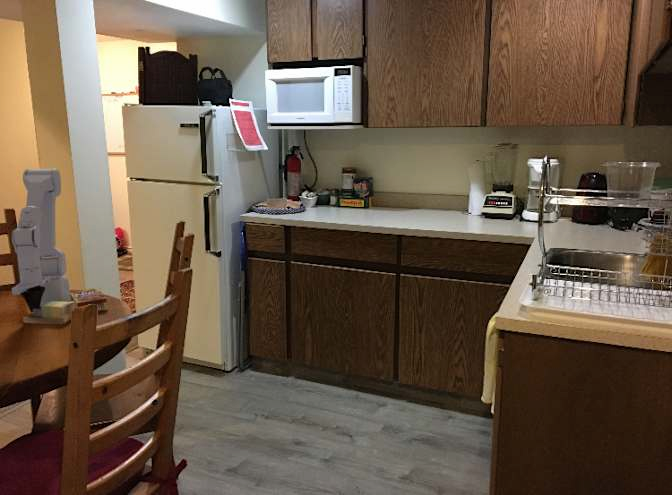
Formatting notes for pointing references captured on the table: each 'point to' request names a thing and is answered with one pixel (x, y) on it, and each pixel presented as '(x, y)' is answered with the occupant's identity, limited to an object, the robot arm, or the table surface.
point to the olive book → (48, 309)
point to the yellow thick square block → (56, 309)
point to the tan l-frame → (64, 317)
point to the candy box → (89, 298)
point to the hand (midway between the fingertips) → (34, 311)
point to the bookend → (38, 312)
